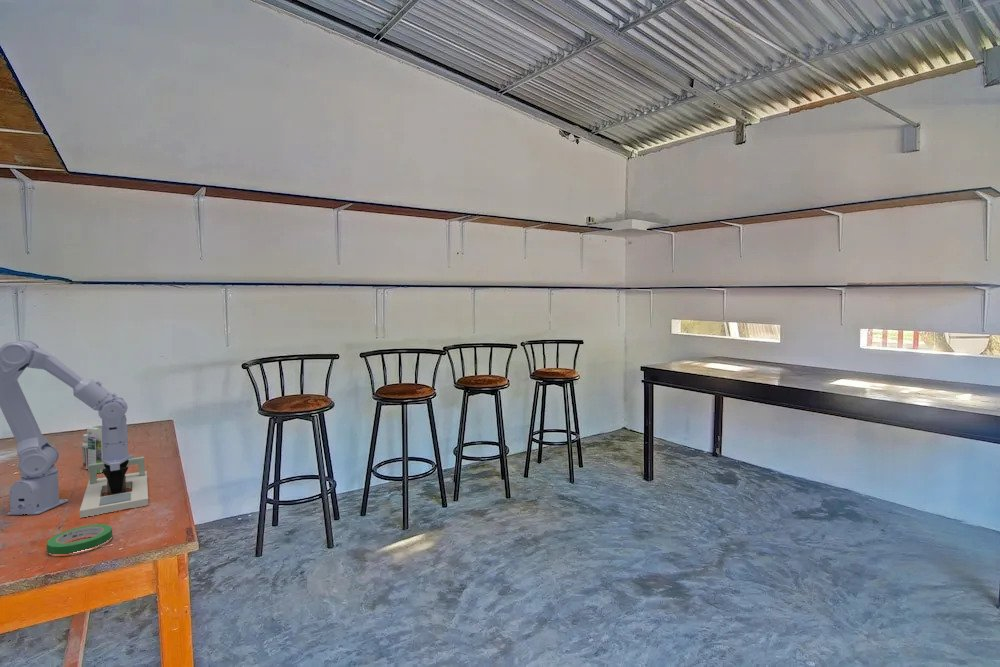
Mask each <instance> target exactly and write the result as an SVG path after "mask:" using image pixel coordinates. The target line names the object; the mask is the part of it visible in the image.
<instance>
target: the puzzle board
mask: <svg viewBox="0 0 1000 667" xmlns="http://www.w3.org/2000/svg"><path fill="white" fill-rule="evenodd" d="M147 473H148V471H147V470H145V475H139V471H137V472H131V473H130V472H129V473H126V474H125V475H126V488H129V489H131V491H126V493H120V494H114V495H108V494H107V495H104V496H103V494H104V492H105V493H108V491H107V478H106V476H104V477H99V478H98V477H97V482H95V483H90V479H89V480H88V482H87V485H86V488H85V492H84V495H83V499H82V502H81V505H80V509H79V519H80V518H81V517H87V518H89V517H88V516H93V517H95V516H94V515H98V516H100V515H99V514H103V513H108V512H113V511H117V510H122V509H127V508H133V507H138V506H143V505H148V506H149V491H148V488H149V487H148V474H147ZM130 487H132V488H130ZM103 515H104V514H103Z"/></svg>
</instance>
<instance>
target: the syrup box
mask: <svg viewBox="0 0 1000 667" xmlns="http://www.w3.org/2000/svg"><path fill="white" fill-rule="evenodd" d="M86 428H87V429H86V431H87V432H86V434H87V440H88V470H87V471H89V464H94V463H101V462H102V459H103V453H102V424H100V425H99V424H98V425H95V426H90V427H86ZM102 470H103V469H101V470H96V471H97V474H98V473H99V474H103V473H102Z"/></svg>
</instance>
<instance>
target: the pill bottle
mask: <svg viewBox="0 0 1000 667" xmlns="http://www.w3.org/2000/svg"><path fill="white" fill-rule="evenodd" d="M82 437H83V438H82V440H83V443H82V445H81V451H82V452H81V454H82V465H83V469H84V470H86V469H88V440H87V433H85V434H83V435H82Z"/></svg>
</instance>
